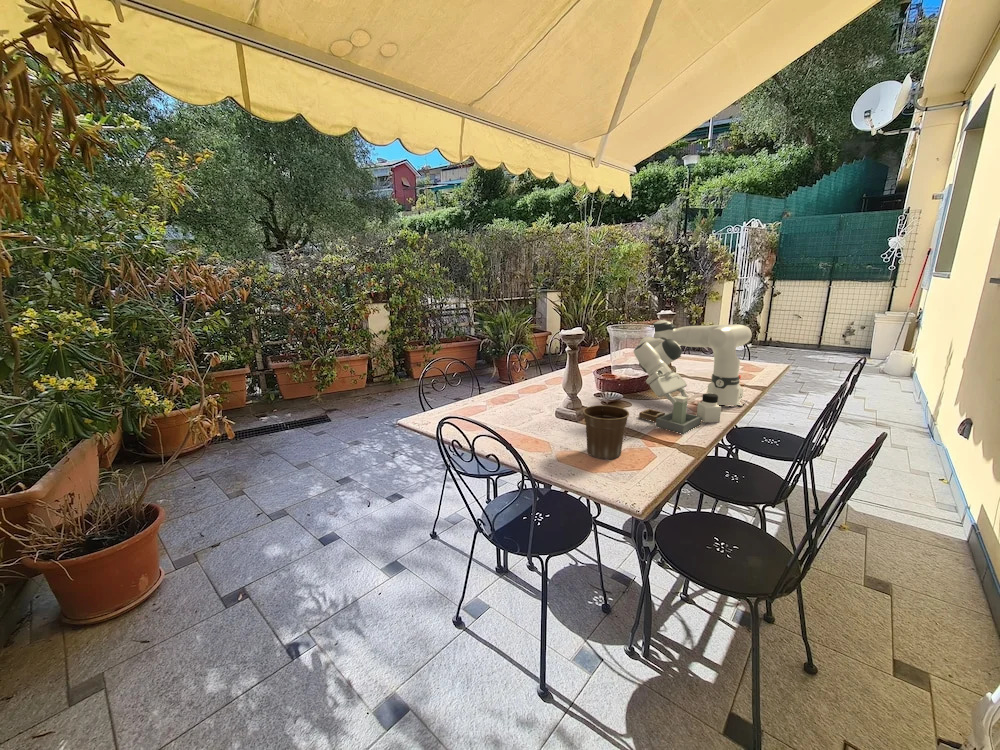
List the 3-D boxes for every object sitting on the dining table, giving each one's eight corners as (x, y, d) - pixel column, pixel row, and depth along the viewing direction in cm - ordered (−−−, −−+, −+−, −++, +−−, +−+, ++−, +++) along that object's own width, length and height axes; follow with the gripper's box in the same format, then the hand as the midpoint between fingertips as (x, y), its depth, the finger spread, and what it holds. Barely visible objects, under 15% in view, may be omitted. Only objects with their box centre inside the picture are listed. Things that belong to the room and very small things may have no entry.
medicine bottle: (719, 422, 181) (722, 396, 178) (703, 422, 181) (706, 396, 178) (711, 416, 188) (714, 391, 185) (696, 417, 188) (698, 391, 185)
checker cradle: (648, 413, 194) (648, 407, 193) (664, 418, 188) (665, 412, 187) (639, 417, 189) (639, 411, 188) (655, 422, 183) (656, 416, 182)
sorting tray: (674, 418, 187) (674, 410, 186) (700, 425, 178) (701, 416, 178) (655, 426, 177) (656, 418, 176) (682, 434, 168) (683, 425, 168)
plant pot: (594, 440, 164) (595, 402, 160) (633, 450, 154) (636, 409, 150) (573, 454, 152) (574, 413, 148) (615, 466, 142) (617, 422, 138)
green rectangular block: (676, 421, 181) (678, 395, 178) (685, 424, 178) (687, 397, 175) (671, 423, 178) (673, 397, 175) (680, 426, 175) (683, 399, 172)
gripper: (667, 374, 189) (686, 399, 184) (643, 382, 176) (663, 409, 171) (678, 366, 184) (697, 391, 179) (653, 373, 172) (674, 401, 167)
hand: (680, 400), depth 175 cm, fingers open, 8 cm apart
